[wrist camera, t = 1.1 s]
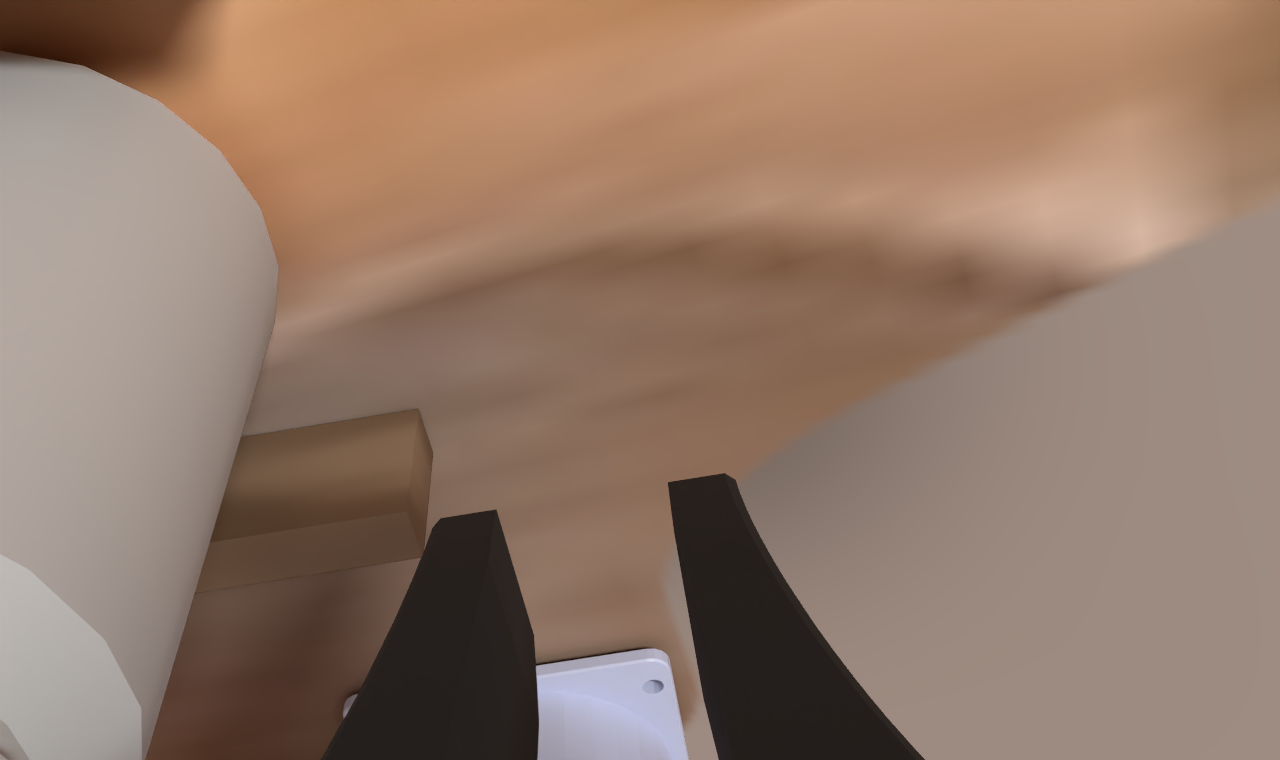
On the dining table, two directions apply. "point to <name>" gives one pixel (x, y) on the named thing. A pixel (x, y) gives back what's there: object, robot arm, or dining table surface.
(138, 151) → the can
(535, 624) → the dining table surface
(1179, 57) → the dining table surface
